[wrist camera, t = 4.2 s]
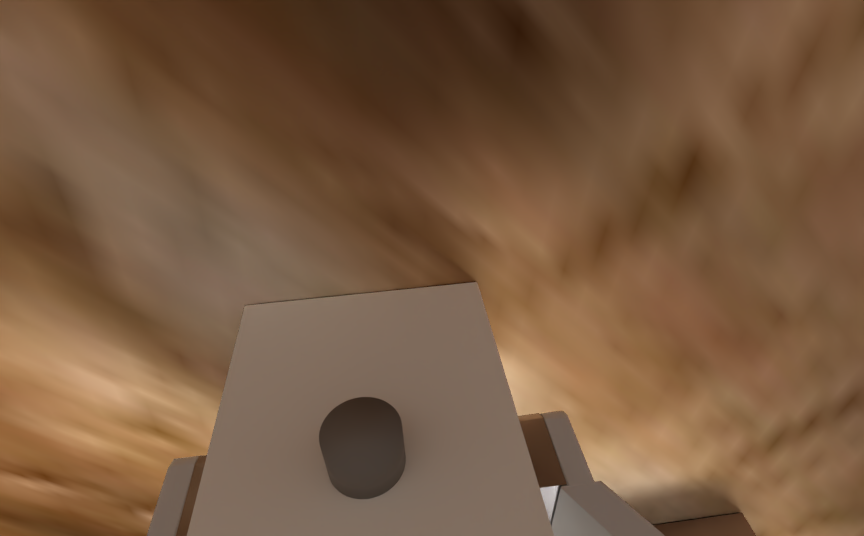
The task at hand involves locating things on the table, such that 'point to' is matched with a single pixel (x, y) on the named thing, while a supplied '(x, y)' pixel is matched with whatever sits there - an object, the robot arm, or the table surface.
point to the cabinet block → (369, 423)
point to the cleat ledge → (709, 527)
